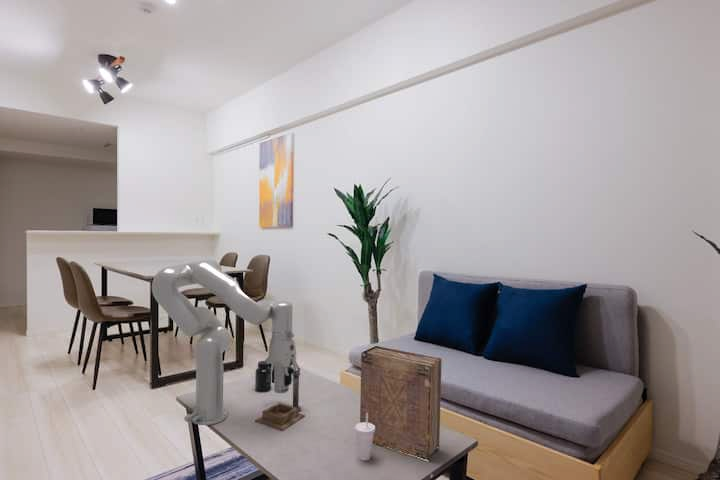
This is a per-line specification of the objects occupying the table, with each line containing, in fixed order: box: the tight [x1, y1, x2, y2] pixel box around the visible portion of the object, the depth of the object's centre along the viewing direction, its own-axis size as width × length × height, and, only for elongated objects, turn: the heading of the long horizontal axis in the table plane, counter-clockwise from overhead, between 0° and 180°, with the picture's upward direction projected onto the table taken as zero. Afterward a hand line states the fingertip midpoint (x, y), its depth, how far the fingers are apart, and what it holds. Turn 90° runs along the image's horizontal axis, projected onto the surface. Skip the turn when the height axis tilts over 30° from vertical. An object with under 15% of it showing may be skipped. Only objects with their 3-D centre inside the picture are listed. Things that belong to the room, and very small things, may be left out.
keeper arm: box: [268, 366, 301, 377], centre depth 163 cm, size 15×3×3 cm, turn 61°
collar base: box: [254, 375, 306, 432], centre depth 154 cm, size 18×13×14 cm
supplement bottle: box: [254, 360, 272, 393], centre depth 180 cm, size 7×7×12 cm
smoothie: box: [354, 413, 375, 461], centre depth 128 cm, size 6×6×14 cm
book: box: [359, 345, 443, 460], centre depth 136 cm, size 25×9×30 cm, turn 58°
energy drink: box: [273, 360, 290, 394], centre depth 152 cm, size 5×5×12 cm
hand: (281, 383), depth 152 cm, fingers closed on energy drink, 5 cm apart
